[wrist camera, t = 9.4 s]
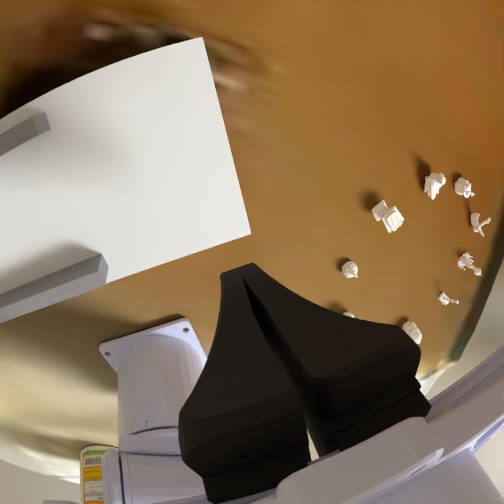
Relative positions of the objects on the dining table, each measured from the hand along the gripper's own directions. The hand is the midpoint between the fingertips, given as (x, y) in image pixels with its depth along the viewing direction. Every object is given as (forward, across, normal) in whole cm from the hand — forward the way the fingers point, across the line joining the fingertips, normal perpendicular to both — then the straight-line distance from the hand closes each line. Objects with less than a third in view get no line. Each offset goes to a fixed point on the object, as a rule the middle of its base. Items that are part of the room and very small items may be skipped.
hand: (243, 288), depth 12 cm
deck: (+9, +14, -4) cm, 17 cm away
